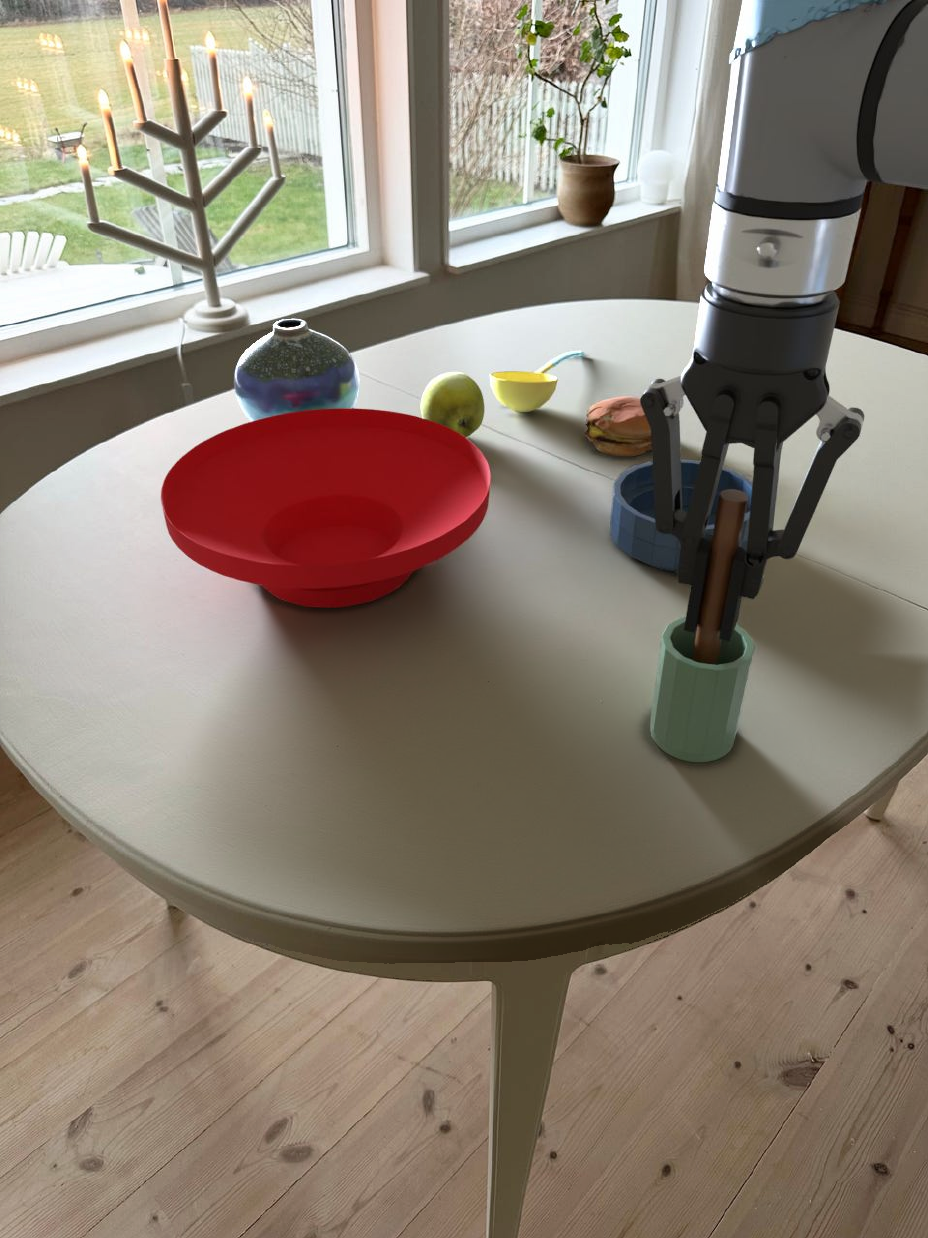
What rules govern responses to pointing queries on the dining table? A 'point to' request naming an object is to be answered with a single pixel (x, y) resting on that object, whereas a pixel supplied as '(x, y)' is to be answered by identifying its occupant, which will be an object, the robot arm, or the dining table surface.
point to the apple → (454, 403)
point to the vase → (295, 373)
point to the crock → (699, 695)
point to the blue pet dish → (637, 512)
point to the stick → (719, 574)
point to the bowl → (326, 502)
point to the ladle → (527, 386)
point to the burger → (619, 427)
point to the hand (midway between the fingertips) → (711, 624)
